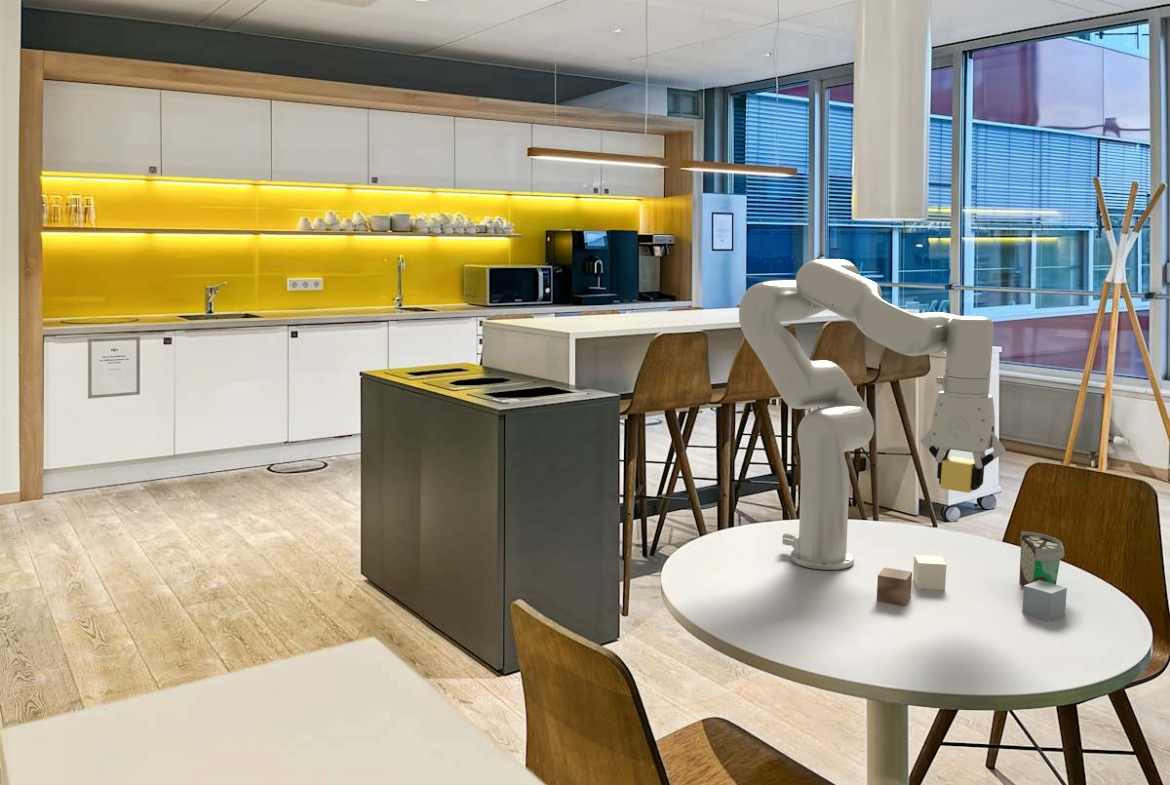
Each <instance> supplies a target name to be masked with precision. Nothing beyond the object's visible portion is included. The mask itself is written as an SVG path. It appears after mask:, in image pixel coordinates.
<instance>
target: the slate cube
mask: <svg viewBox="0 0 1170 785" xmlns="http://www.w3.org/2000/svg"><path fill="white" fill-rule="evenodd" d="M1067 590H1068V589H1067V587H1065V586H1063V585H1059V584H1057V583H1056V584H1052V583H1048V582H1045V581H1041V580H1038V581H1035V582H1032V583H1030V584H1027V585H1024V590H1023V593H1022V596H1023V597H1022V608H1021V612H1022V613H1023V614H1026V615H1029V616H1032V617H1036V618H1038V619H1040V620H1046V621H1048V622H1051V621H1054V620H1056V619H1058V618H1060V617H1063V616H1065V614H1066V605H1067V603H1066V602H1067V593H1068V592H1067Z"/></svg>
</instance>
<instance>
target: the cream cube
mask: <svg viewBox="0 0 1170 785" xmlns="http://www.w3.org/2000/svg"><path fill="white" fill-rule="evenodd" d="M913 556H914V557H913V568H912V569H913V571H912V582H913V583H914V584H915V587H916V588H917V589H921V590H923V589H924V590H939V591H940V590H942V591H945V590H946V581H947V578H946V576H947V563H946V562H945V560H944V558H943V557H942V556H940V555H923V554H922V555H921V554H914V555H913Z"/></svg>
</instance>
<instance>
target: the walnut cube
mask: <svg viewBox="0 0 1170 785" xmlns="http://www.w3.org/2000/svg"><path fill="white" fill-rule="evenodd" d="M912 582H913V571H909V570H902V569H896V568H890V567H883V568H882V569H881V571H880V572H879V573H878V574H877V585H876V602H879V603H883V604H884V603H885V604H890V605H895V606H902V607H906V605H907V604H908V603H909V601H910V599H911V597H912Z"/></svg>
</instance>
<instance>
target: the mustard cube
mask: <svg viewBox="0 0 1170 785" xmlns="http://www.w3.org/2000/svg"><path fill="white" fill-rule="evenodd" d="M974 466H975V462H974V458H973V459H971V458H965V457H964V458H963V457H960V456H959V457H957V456H949V457H948V459H945V460H943V461H942V472H941V485H940V486H939V488H940V489H943V490H944V489H945V490H949V491H955V492H961V493H967V494H969V493H971V492H972V491H974V490H972V489H971V480H972V469H973V468H974Z"/></svg>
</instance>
